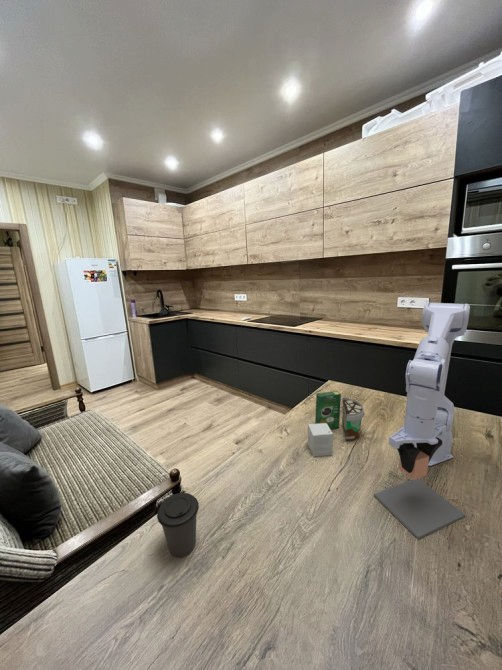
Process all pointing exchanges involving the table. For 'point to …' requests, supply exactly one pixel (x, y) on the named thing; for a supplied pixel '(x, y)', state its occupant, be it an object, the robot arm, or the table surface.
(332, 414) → the coffee box
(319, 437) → the product box
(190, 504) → the coffee cup
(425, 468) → the block
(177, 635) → the table surface
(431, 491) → the mat
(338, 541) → the table surface
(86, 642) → the table surface
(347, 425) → the food container
